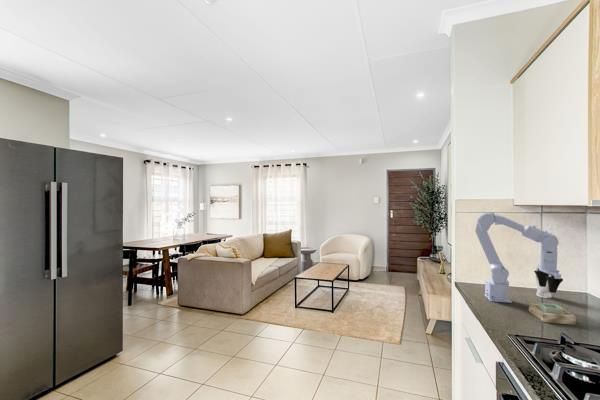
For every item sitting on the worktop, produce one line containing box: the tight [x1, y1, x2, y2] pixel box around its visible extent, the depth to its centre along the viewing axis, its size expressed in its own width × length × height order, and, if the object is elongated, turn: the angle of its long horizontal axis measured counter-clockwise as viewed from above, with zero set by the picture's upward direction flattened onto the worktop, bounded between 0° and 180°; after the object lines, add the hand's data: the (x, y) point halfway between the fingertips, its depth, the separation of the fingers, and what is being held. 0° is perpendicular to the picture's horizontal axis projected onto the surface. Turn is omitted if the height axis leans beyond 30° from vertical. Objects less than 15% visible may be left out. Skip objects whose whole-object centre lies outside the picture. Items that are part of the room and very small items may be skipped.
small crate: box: [538, 302, 564, 315], centre depth 123 cm, size 6×5×4 cm
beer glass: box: [535, 267, 552, 299], centre depth 146 cm, size 7×7×15 cm
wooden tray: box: [528, 303, 577, 326], centre depth 123 cm, size 12×11×4 cm
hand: (547, 289), depth 131 cm, fingers open, 7 cm apart
